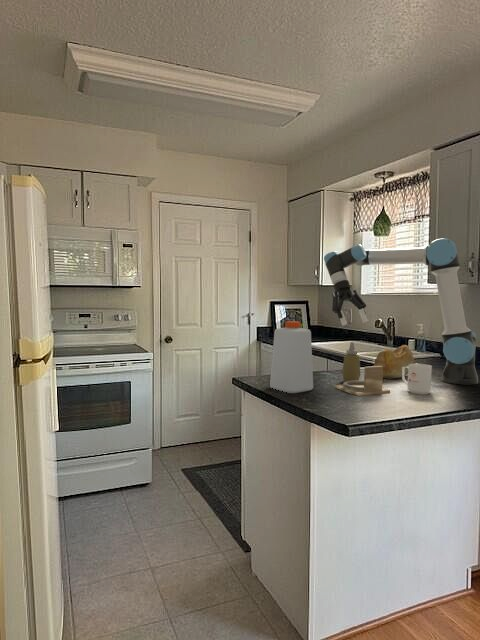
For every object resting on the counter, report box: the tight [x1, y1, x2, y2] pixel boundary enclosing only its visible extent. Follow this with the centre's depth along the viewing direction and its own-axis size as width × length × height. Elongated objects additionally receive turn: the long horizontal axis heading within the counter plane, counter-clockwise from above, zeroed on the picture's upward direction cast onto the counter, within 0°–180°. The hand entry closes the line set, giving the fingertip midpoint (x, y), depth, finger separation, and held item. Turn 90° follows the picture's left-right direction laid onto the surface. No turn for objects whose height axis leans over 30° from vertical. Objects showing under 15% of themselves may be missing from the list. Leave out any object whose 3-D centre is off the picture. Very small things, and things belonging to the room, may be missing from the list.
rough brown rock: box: [373, 344, 415, 380], centre depth 218 cm, size 23×17×15 cm
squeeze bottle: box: [341, 341, 361, 382], centre depth 201 cm, size 8×8×18 cm
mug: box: [401, 363, 433, 395], centre depth 184 cm, size 12×9×11 cm
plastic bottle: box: [269, 320, 314, 394], centre depth 184 cm, size 15×15×28 cm
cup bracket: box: [333, 365, 391, 397], centre depth 185 cm, size 16×16×11 cm
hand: (355, 323), depth 210 cm, fingers open, 13 cm apart
